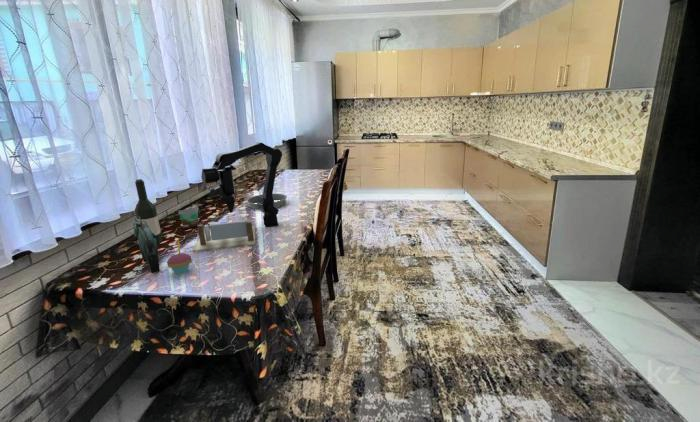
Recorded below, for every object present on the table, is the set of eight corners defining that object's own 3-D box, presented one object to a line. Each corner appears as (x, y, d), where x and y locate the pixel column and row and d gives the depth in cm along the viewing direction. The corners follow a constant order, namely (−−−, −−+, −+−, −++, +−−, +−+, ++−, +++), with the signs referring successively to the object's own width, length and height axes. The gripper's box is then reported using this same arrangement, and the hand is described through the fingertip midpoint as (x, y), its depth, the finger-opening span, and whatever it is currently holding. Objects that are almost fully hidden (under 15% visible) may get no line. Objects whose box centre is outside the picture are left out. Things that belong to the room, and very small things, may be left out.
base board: (255, 227, 181) (255, 225, 180) (255, 244, 158) (255, 242, 158) (201, 233, 175) (201, 232, 174) (193, 252, 152) (192, 250, 152)
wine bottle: (166, 239, 169) (153, 177, 160) (152, 246, 161) (137, 181, 153) (153, 238, 172) (139, 177, 163) (138, 244, 164) (123, 181, 155)
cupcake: (174, 267, 138) (168, 238, 135) (196, 266, 139) (191, 237, 135) (165, 277, 130) (159, 247, 127) (189, 276, 131) (183, 245, 127)
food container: (191, 229, 182) (188, 210, 179) (181, 229, 183) (177, 210, 180) (205, 221, 194) (202, 204, 191) (195, 221, 195) (192, 204, 192)
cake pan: (244, 203, 228) (243, 196, 227) (281, 198, 238) (281, 191, 236) (251, 213, 207) (250, 205, 205) (292, 206, 216) (291, 199, 215)
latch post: (254, 238, 162) (251, 219, 160) (253, 240, 160) (251, 221, 157) (248, 239, 162) (245, 220, 159) (248, 241, 159) (245, 222, 157)
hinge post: (206, 243, 160) (202, 224, 157) (205, 244, 158) (202, 225, 155) (201, 243, 159) (198, 224, 157) (200, 245, 157) (197, 226, 155)
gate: (206, 241, 157) (203, 226, 155) (206, 239, 159) (204, 225, 157) (249, 236, 162) (247, 221, 160) (249, 234, 163) (247, 220, 161)
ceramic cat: (139, 259, 148) (128, 213, 142) (156, 255, 151) (146, 210, 146) (147, 275, 132) (136, 225, 127) (166, 270, 136) (156, 221, 130)
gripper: (210, 178, 172) (215, 209, 176) (205, 186, 155) (211, 220, 159) (234, 176, 174) (239, 206, 179) (232, 183, 157) (236, 217, 162)
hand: (231, 212), depth 170 cm, fingers closed
